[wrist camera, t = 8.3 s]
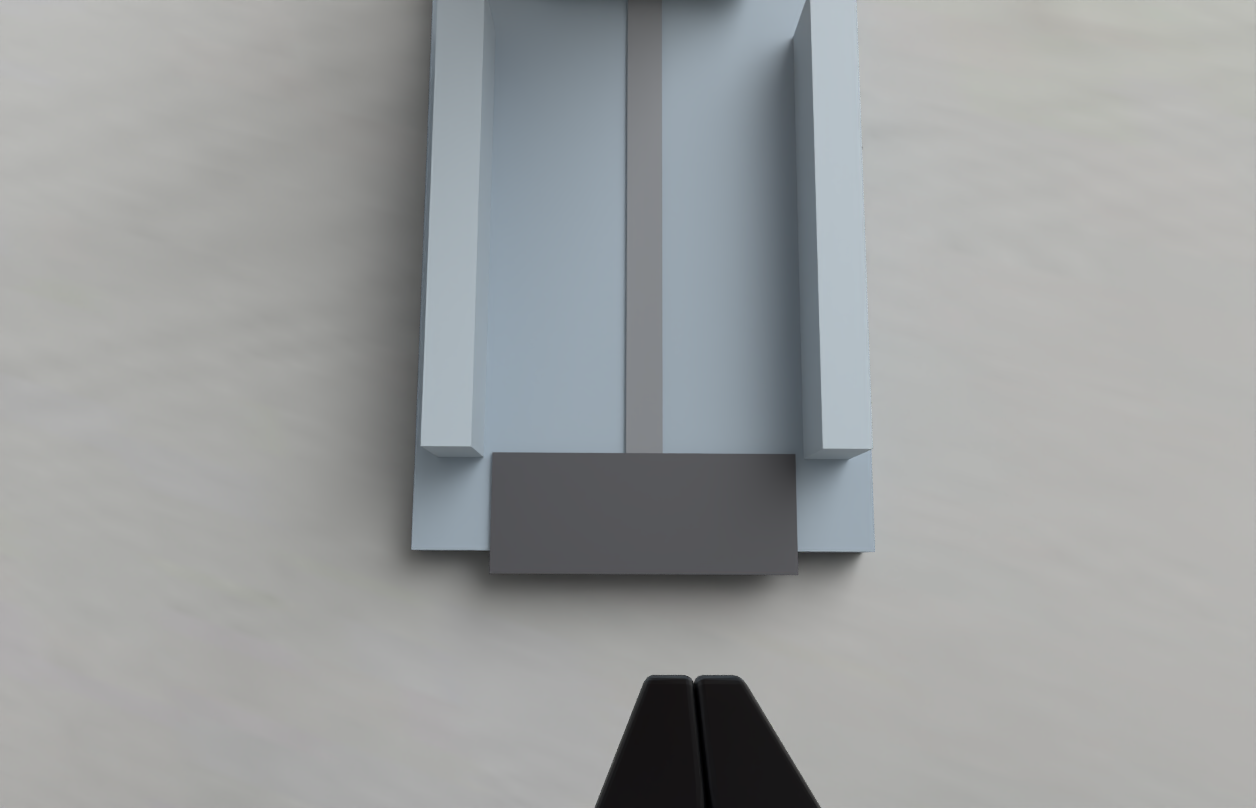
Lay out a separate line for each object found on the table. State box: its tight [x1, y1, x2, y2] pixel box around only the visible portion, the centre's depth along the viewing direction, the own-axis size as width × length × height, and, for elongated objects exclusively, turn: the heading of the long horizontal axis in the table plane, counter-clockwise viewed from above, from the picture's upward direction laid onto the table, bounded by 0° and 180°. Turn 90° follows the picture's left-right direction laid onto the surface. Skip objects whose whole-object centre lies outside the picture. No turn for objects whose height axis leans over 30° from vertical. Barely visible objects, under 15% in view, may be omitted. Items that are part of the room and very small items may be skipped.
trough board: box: [411, 0, 875, 575], centre depth 22 cm, size 18×10×3 cm, turn 0°
